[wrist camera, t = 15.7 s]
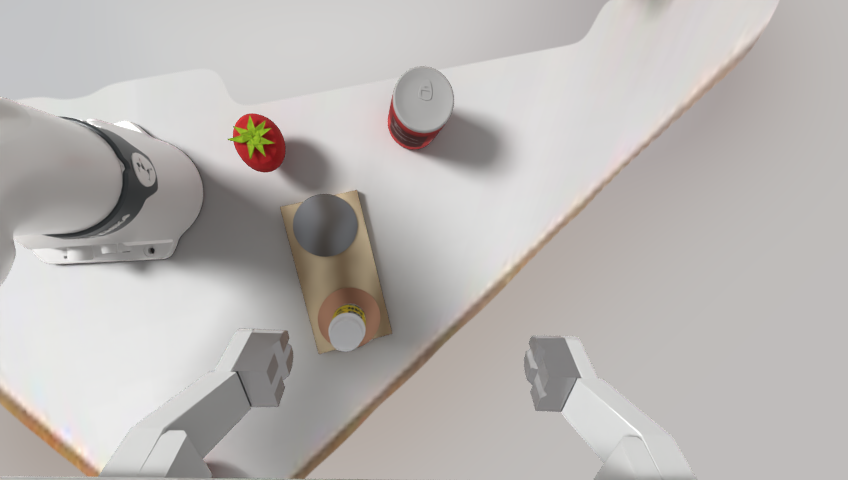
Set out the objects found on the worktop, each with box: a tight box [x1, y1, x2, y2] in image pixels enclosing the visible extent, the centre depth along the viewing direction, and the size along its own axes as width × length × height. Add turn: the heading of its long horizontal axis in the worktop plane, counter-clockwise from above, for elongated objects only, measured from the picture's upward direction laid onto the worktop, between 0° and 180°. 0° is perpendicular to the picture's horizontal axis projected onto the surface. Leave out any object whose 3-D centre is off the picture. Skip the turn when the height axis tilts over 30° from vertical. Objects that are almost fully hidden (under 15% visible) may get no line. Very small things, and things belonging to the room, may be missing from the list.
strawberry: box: [228, 114, 285, 172], centre depth 46 cm, size 6×8×10 cm
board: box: [280, 190, 392, 354], centre depth 53 cm, size 11×23×2 cm, turn 14°
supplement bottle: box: [328, 304, 366, 352], centre depth 48 cm, size 5×5×8 cm
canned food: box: [388, 66, 454, 149], centre depth 49 cm, size 8×8×11 cm
